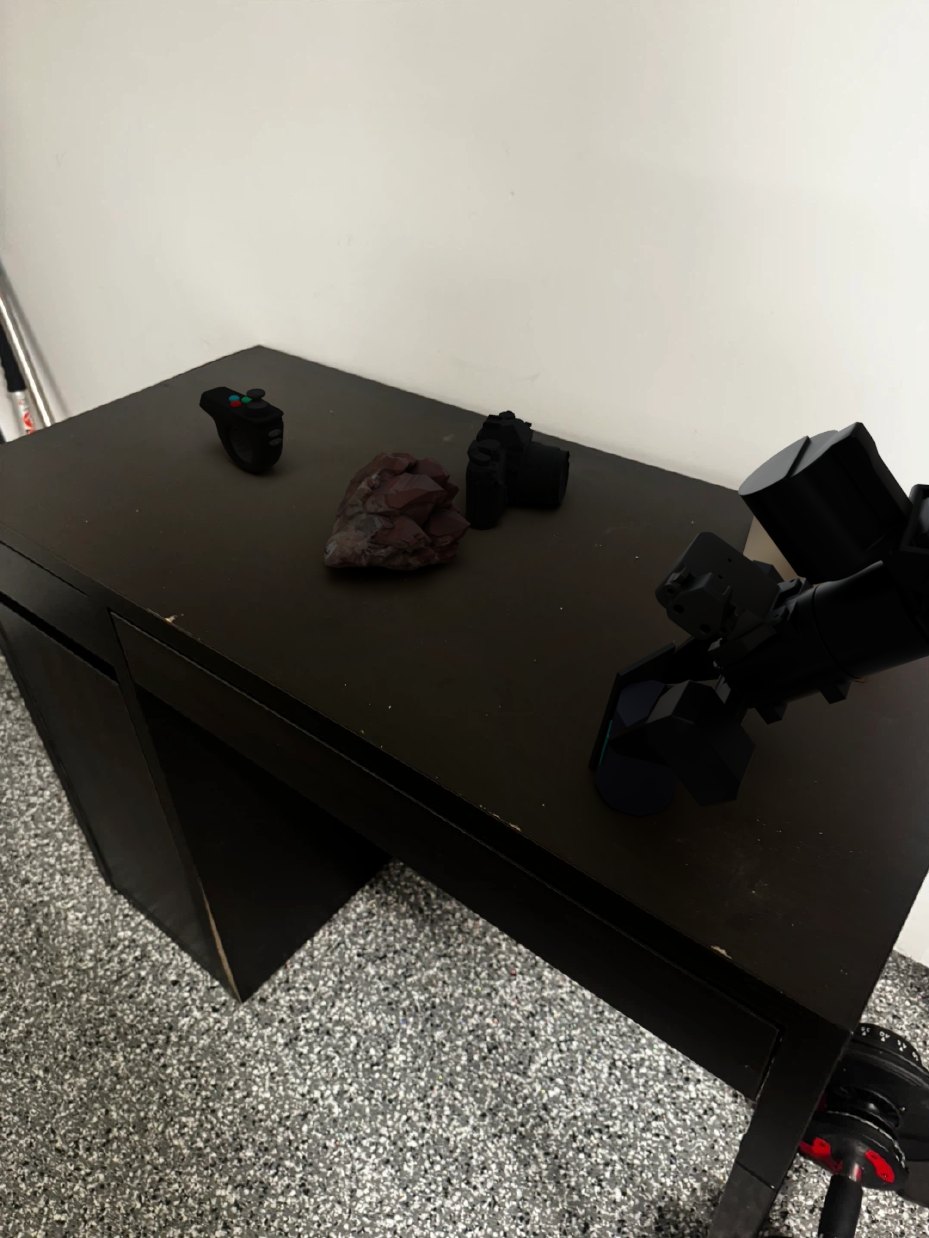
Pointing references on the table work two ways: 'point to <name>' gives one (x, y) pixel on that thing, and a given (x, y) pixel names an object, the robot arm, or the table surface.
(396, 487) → the mineral specimen
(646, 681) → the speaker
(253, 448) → the controller
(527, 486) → the film camera
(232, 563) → the table surface
